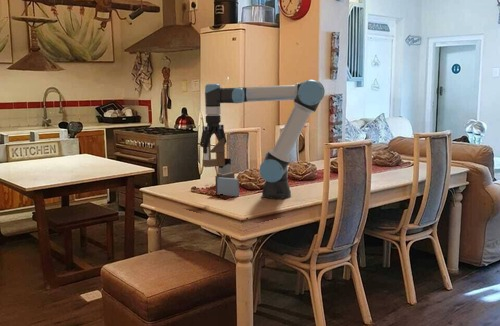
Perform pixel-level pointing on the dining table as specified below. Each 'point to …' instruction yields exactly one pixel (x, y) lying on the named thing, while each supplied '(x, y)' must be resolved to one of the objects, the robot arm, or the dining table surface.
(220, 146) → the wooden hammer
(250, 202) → the dining table surface
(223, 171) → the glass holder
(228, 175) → the notched wooden plank
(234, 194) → the door
